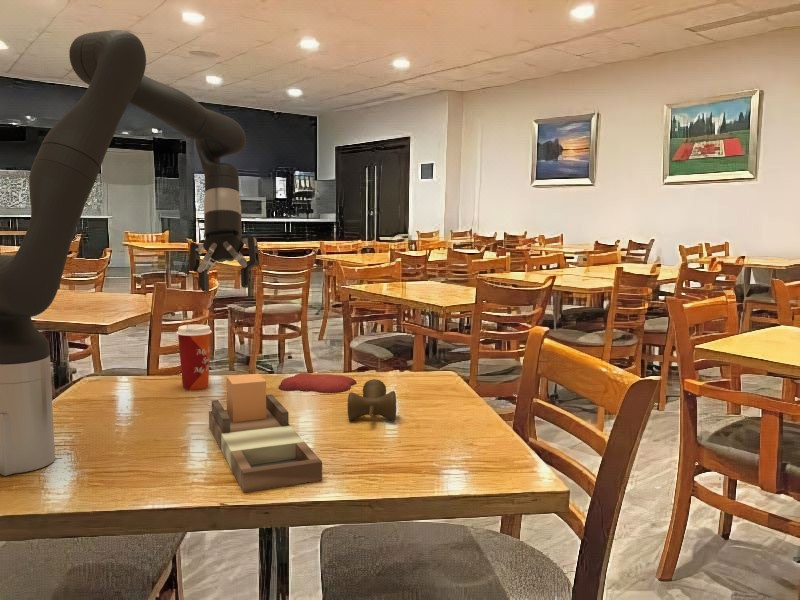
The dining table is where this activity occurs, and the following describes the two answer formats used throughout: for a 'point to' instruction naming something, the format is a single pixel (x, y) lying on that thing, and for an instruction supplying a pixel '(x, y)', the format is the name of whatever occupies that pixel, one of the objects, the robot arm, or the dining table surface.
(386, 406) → the kendama
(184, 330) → the paper cup
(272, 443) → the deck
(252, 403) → the block
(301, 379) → the patty
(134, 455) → the dining table surface
